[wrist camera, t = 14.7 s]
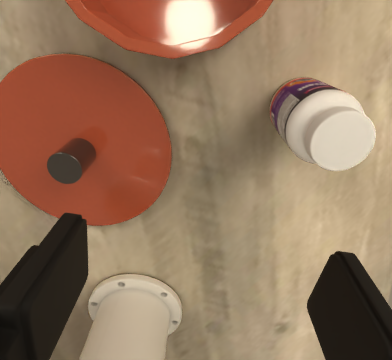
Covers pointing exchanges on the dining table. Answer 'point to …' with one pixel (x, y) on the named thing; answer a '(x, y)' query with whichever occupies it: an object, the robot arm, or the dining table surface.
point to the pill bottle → (322, 124)
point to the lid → (82, 139)
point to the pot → (169, 23)
